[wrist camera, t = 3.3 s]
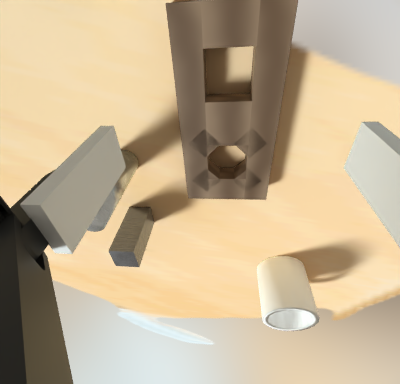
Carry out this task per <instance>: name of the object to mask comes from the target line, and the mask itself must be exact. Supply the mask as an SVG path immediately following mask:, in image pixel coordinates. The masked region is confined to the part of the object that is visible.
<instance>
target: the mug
mask: <svg viewBox="0 0 400 384" xmlns="http://www.w3.org/2000/svg"><path fill="white" fill-rule="evenodd" d="M257 276H258V285H259V294H260V303H261V312H262V321H263V323H264V324H265V325H267V326H268V327H270V328H273V329H276V330H283V331H298V330H304V329H308V328H311V327H313V326H315V325H316V324H317V323H318V322H319V315H318V312H317V308H316V305H315V301H314V298H313V294H312V291H311V287H310V284H309V281H308V277H307V274H306V270H305V267H304V265H303V263H302V262H301V261H300V260H299V259H296V258H294V257H289V256H275V257H270V258H267V259H265V260H263V261H262V262H261V263H260V264H259V265H258V267H257Z"/></svg>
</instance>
